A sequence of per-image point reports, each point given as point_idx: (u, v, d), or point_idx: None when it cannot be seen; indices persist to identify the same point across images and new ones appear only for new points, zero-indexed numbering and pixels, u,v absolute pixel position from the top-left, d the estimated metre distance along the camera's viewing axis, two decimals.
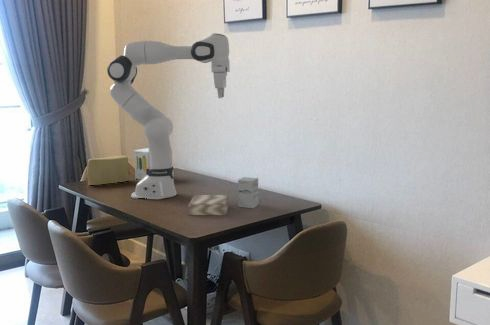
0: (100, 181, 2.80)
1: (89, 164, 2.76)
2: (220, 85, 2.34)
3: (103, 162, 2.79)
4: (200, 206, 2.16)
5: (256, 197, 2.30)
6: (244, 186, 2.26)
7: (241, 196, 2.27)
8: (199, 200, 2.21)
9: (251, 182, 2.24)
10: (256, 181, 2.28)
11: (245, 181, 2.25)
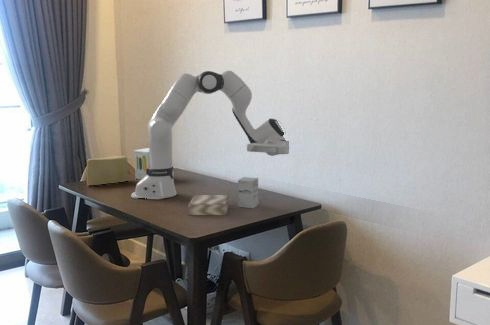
0: (99, 181, 2.80)
1: (88, 164, 2.76)
2: (284, 151, 2.38)
3: (102, 162, 2.79)
4: (200, 206, 2.16)
5: (256, 197, 2.30)
6: (244, 186, 2.26)
7: (241, 196, 2.27)
8: (199, 200, 2.21)
9: (251, 182, 2.24)
10: (256, 181, 2.28)
11: (245, 181, 2.25)
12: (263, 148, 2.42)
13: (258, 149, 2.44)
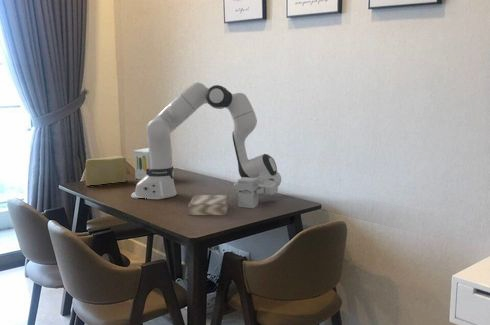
0: (98, 181, 2.80)
1: (87, 164, 2.75)
2: (273, 192, 2.29)
3: (101, 163, 2.78)
4: (200, 206, 2.16)
5: (256, 197, 2.30)
6: (244, 186, 2.26)
7: (241, 196, 2.27)
8: (199, 200, 2.21)
9: (251, 182, 2.24)
10: (256, 181, 2.28)
11: (245, 181, 2.25)
12: None
13: None
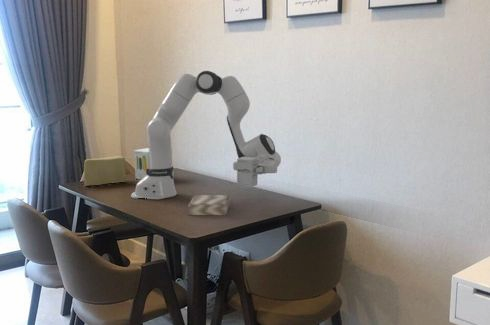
0: (97, 182, 2.79)
1: (86, 164, 2.75)
2: (272, 170, 2.28)
3: (100, 163, 2.78)
4: (200, 206, 2.16)
5: (255, 177, 2.28)
6: (243, 166, 2.24)
7: (240, 175, 2.26)
8: (199, 200, 2.21)
9: (250, 161, 2.23)
10: (255, 160, 2.27)
11: (244, 160, 2.24)
12: None
13: None
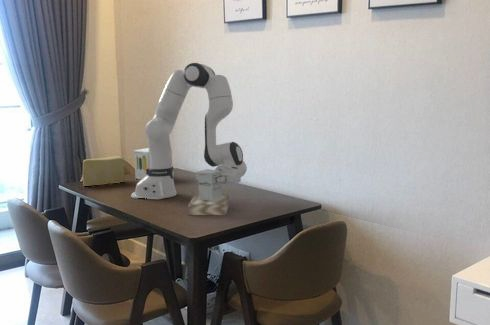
0: (95, 182, 2.79)
1: (84, 165, 2.75)
2: (234, 180, 2.22)
3: (98, 163, 2.77)
4: (200, 206, 2.16)
5: (217, 190, 2.22)
6: (203, 179, 2.19)
7: (201, 188, 2.21)
8: (199, 200, 2.21)
9: (210, 174, 2.17)
10: (217, 173, 2.21)
11: (204, 173, 2.18)
12: None
13: None
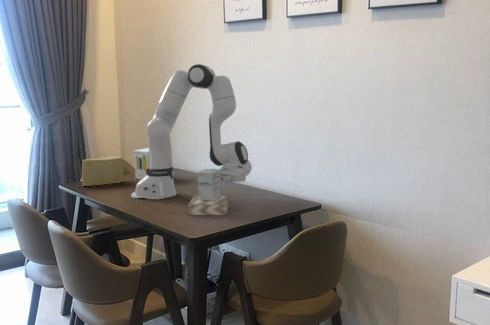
0: (95, 182, 2.78)
1: (83, 165, 2.74)
2: (240, 179, 2.27)
3: (98, 163, 2.77)
4: (200, 206, 2.16)
5: (218, 189, 2.22)
6: (204, 179, 2.19)
7: (201, 188, 2.20)
8: (199, 200, 2.21)
9: (210, 174, 2.17)
10: (217, 173, 2.21)
11: (204, 173, 2.18)
12: None
13: None
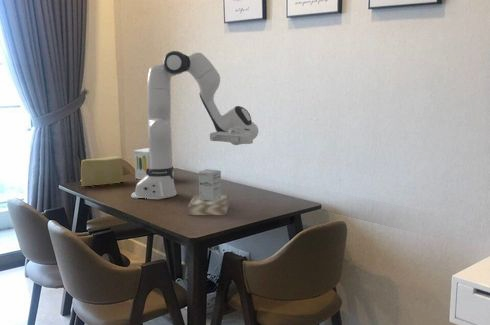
0: (94, 182, 2.78)
1: (82, 165, 2.74)
2: (247, 141, 2.31)
3: (97, 163, 2.77)
4: (200, 206, 2.16)
5: (218, 190, 2.22)
6: (204, 179, 2.19)
7: (201, 188, 2.21)
8: (199, 200, 2.21)
9: (211, 174, 2.17)
10: (218, 173, 2.21)
11: (205, 173, 2.18)
12: (226, 137, 2.35)
13: (221, 138, 2.37)
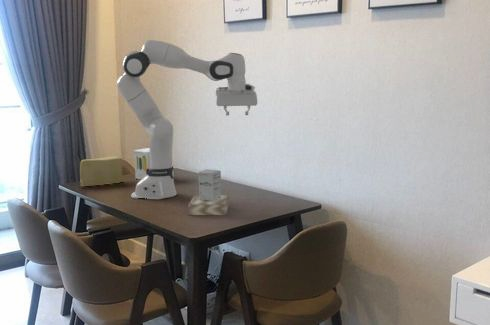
0: (93, 182, 2.78)
1: (82, 165, 2.74)
2: None
3: (96, 163, 2.77)
4: (200, 206, 2.16)
5: (218, 190, 2.22)
6: (204, 179, 2.19)
7: (201, 188, 2.21)
8: (199, 200, 2.21)
9: (211, 174, 2.17)
10: (218, 173, 2.21)
11: (205, 173, 2.18)
12: None
13: None
